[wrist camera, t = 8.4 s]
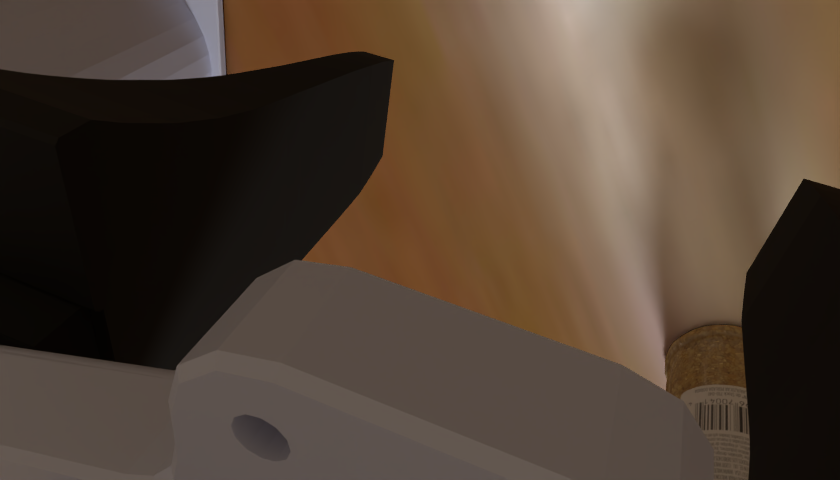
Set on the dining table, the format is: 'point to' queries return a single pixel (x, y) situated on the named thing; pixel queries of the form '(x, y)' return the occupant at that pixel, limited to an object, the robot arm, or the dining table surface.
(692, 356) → the sprinkles bottle
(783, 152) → the dining table surface
